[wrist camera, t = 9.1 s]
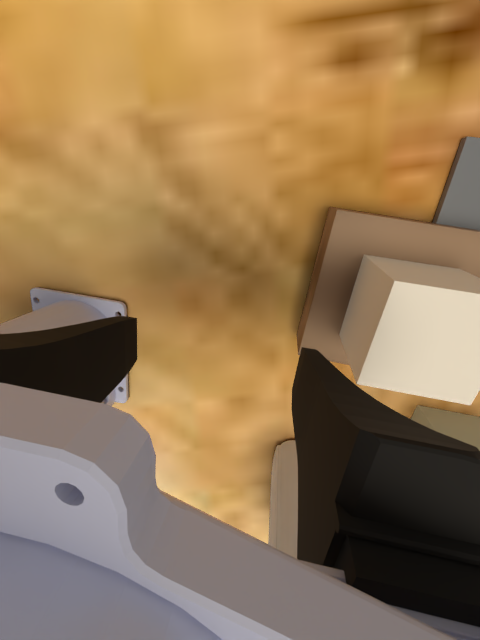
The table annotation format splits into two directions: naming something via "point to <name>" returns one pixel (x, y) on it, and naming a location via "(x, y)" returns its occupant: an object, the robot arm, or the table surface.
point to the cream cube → (414, 329)
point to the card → (462, 189)
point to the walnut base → (375, 240)
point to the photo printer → (284, 499)
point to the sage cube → (450, 424)
